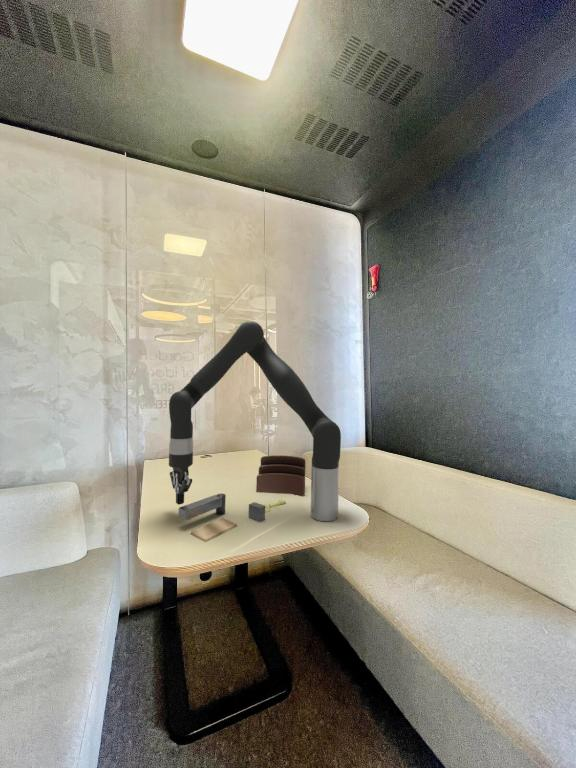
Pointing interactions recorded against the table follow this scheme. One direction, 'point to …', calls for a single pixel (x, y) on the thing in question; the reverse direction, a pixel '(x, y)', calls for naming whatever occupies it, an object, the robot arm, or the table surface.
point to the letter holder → (281, 475)
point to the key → (274, 505)
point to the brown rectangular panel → (213, 529)
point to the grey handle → (203, 507)
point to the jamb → (257, 512)
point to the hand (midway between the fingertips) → (179, 503)
